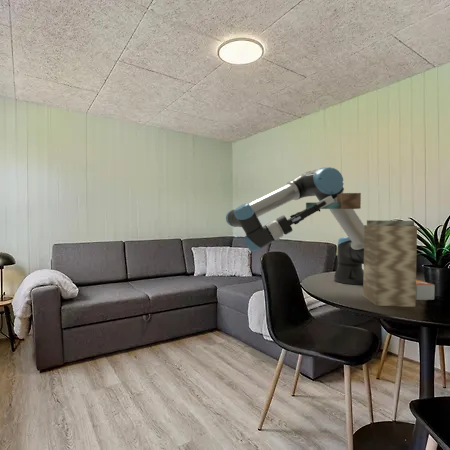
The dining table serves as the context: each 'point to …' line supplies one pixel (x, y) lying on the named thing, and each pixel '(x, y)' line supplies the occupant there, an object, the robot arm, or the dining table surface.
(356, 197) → the teal and brown block
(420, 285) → the small box
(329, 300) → the dining table surface
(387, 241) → the wooden board
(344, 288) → the dining table surface
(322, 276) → the dining table surface
